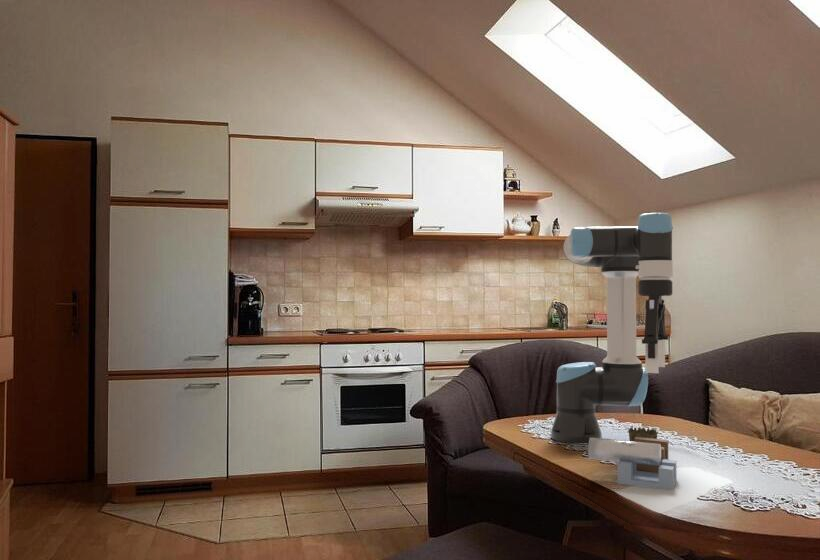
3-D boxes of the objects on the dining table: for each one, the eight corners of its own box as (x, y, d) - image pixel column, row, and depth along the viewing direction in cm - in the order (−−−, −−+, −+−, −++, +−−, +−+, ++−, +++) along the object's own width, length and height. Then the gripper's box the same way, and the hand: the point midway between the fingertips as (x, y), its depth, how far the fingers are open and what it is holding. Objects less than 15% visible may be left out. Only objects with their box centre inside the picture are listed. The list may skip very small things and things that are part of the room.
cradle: (623, 475, 162) (623, 454, 162) (676, 481, 156) (676, 460, 156) (617, 484, 154) (617, 463, 154) (672, 492, 148) (672, 469, 148)
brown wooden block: (635, 463, 172) (635, 436, 173) (668, 467, 169) (668, 440, 169) (629, 474, 162) (628, 446, 162) (663, 478, 159) (663, 449, 159)
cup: (660, 463, 172) (659, 433, 173) (630, 462, 174) (630, 432, 174) (655, 456, 180) (655, 427, 180) (627, 455, 181) (626, 426, 181)
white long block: (593, 453, 164) (592, 434, 163) (661, 460, 156) (660, 440, 155) (588, 461, 159) (587, 442, 158) (659, 469, 152) (658, 448, 151)
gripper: (645, 280, 168) (645, 363, 167) (630, 278, 145) (630, 374, 145) (677, 279, 164) (677, 365, 164) (666, 278, 142) (667, 376, 142)
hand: (655, 369), depth 154 cm, fingers open, 13 cm apart
